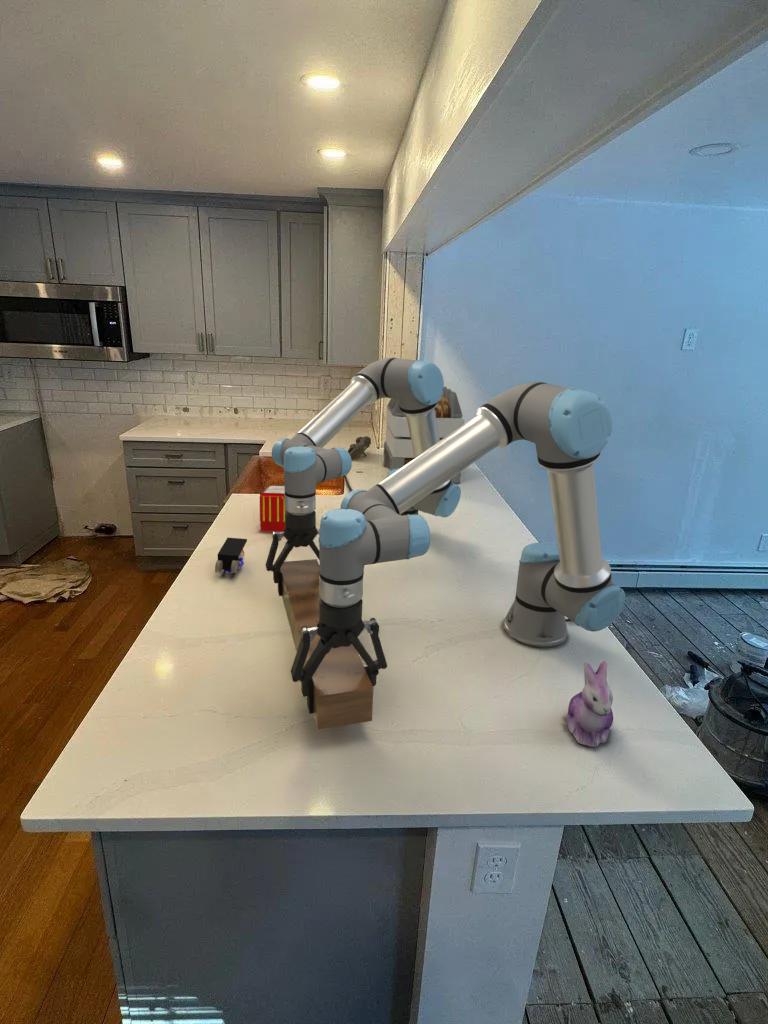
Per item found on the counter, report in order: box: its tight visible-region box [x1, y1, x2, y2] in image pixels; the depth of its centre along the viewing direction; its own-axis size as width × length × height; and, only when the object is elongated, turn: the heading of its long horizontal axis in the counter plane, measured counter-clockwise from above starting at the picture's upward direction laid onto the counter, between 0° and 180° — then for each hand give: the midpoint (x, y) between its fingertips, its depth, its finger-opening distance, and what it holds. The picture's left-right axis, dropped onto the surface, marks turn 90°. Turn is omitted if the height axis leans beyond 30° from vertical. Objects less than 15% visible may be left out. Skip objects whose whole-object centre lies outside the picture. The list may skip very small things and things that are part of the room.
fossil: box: [347, 435, 372, 461], centre depth 300 cm, size 22×10×15 cm
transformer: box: [383, 386, 465, 484], centre depth 268 cm, size 34×33×41 cm
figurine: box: [566, 660, 614, 748], centre depth 106 cm, size 9×10×15 cm
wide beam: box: [280, 558, 374, 731], centre depth 125 cm, size 56×10×7 cm, turn 17°
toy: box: [259, 485, 286, 532], centre depth 208 cm, size 12×13×30 cm
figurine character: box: [214, 537, 248, 578], centre depth 166 cm, size 7×8×15 cm
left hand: (300, 591), depth 146 cm, fingers closed on wide beam, 10 cm apart
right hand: (338, 704), depth 105 cm, fingers closed on wide beam, 10 cm apart
